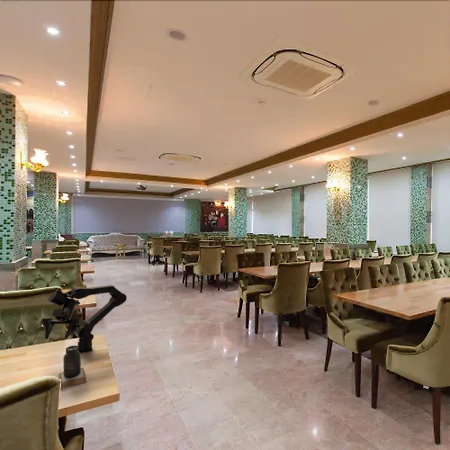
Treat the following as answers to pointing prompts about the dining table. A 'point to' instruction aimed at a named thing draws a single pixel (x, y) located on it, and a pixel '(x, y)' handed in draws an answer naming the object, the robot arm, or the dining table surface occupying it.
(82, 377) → the walnut plinth
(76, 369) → the supplement bottle
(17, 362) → the dining table surface
